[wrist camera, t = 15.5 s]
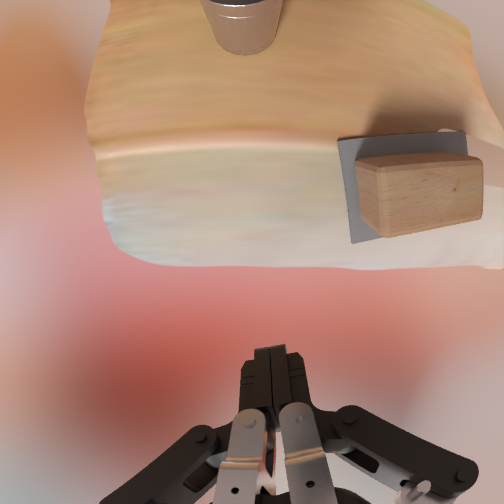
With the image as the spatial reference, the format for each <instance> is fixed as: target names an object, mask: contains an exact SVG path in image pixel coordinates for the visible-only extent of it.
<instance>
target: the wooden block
mask: <svg viewBox="0 0 504 504" xmlns="http://www.w3.org/2000/svg"><path fill="white" fill-rule="evenodd" d="M355 171H356V179H357V188H358V198H359V210H360V217H361V219H362V220H363V221H364V222H366V223H367V224H368V225H369V226H370V227H371V228H373V229H374V230H375V231H376V232H377V233H378V234H379V235H381V236H382V237H385V238H390V237H395V236H400V235H405V234H411V233H416V232H421V231H426V230H431V229H435V228H440V227H445V226H450V225H455V224H460V223H465V222H470V221H474V220H479V219H481V217H482V212H483V163H482V161H481V160H480V159H478V158H476V157H472V156H467V155H463V154H458V153H452V152H431V153H414V154H400V155H388V156H378V157H368V158H360V159H358V160H356V161H355Z"/></svg>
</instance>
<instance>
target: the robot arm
mask: <svg viewBox="0 0 504 504" xmlns="http://www.w3.org/2000/svg"><path fill="white" fill-rule="evenodd" d="M200 2H201V4H202V6H203V9H204V11H205V13H206V16H207V18H208V20H209V23H210V25H211V27H212V30H213V32H214V35H215V37H216V39H217V41H218V43H219V44H220V45H221V46H222V48H224V49H225V50H227V51H229V52H231V53H234V54H239V55H251V54H255V53H259V52H261V51H263V50H265V49H266V48H267V47H269V46H270V44H271V43H272V42H273V40H274V38H275V35H276V30H277V26H278V22H279V17H280V12H281V8H282V3H283V0H200ZM254 352H255V353H254V360H248V361H246V362H245V363H244V365H243V367H242V369H241V380H240V385H241V386H240V398H239V412H238V414H237V415H236V416H235V417H234V419H233V421H232V422H230V423H229V424H227V425H224V426H221V427H218V428H215V429H213V428H211V427H210V426H207V425H198V426H195V427H193V428H191V429H190V430H189V431H188V432H187V433H186V434H184V435H183V436H182V437H181V438H180V439H179V440H178V441H176V442H175V443H174V444H173V445H172V446H171V447H170V448H168V449H167V450H166V451H165V452H164V453H162V454H161V455H160V456H159V457H158V458H157V459H155V460H154V461H153V462H152V463H150V464H149V465H148V466H147V467H145V468H144V469H143V470H142V471H140V472H139V473H138V474H136V475H135V476H134V477H133V478H131V479H130V480H129V481H127V482H126V483H125V484H123V485H122V486H121V487H119V488H118V489H117V490H115V491H114V492H112V493H111V494H110V495H108V496H107V497H105V498H104V499H103V500H101V502H100V503H99V504H194V503H195V502H196V501H197V500H198V499H199V498H201V497H202V496H203V495H204V494H205V493H206V492H207V491H208V490H209V489H210V488H212V487H213V486H214V485H215V484H216V489H215V494H214V499H213V502H211V503H210V504H371V503H369V502H368V501H366V500H365V499H363V498H362V497H360V496H359V495H357V494H356V493H354V492H352V491H349V490H346V489H343V488H337V487H334V486H333V483H332V479H331V475H330V471H329V467H328V463H327V460H326V456H325V453H335V454H336V455H337V456H339V457H340V458H341V459H343V460H345V461H346V462H348V463H349V464H351V465H352V466H354V467H356V468H357V469H359V470H360V471H362V472H364V473H365V474H367V475H369V476H370V477H372V478H374V479H375V480H377V481H379V482H381V483H382V484H385V485H386V486H388V487H390V488H392V489H394V490H395V491H397V492H398V493H397V495H396V497H395V504H453V503H454V501H455V500H456V498H457V497H458V496H459V495H460V494H462V493H463V492H465V491H466V490H468V489H469V488H470V487H472V486H473V485H474V483H475V482H476V480H477V478H478V474H479V470H478V466H477V464H476V463H475V462H474V461H472V460H470V459H467V458H464V457H462V456H460V455H457V454H455V453H453V452H450V451H448V450H445V449H443V448H441V447H439V446H436V445H434V444H432V443H430V442H427V441H425V440H423V439H421V438H419V437H417V436H415V435H413V434H410V433H409V432H406V431H405V430H403V429H401V428H398V427H397V426H395V425H393V424H391V423H389V422H387V421H385V420H383V419H381V418H379V417H377V416H375V415H374V414H372V413H370V412H368V411H366V410H364V409H363V408H361V407H358V406H355V405H349V406H345V407H342V408H340V409H339V410H338V411H336V412H332V411H323V410H320V409H318V408H316V407H315V406H314V405H313V404H312V402H311V399H310V394H309V388H308V382H307V378H306V371H305V366H304V361H303V358H302V357H301V356H300V355H299V353H298V352H295V353H290V354H287V349H286V345H285V344H281V345H276V346H271V347H264V348H259V349H255V351H254ZM280 431H281V434H282V440H283V446H284V453H285V467H286V473H287V480H288V486H289V492H286V493H283V494H280V495H276V485H275V463H276V436H275V432H280Z"/></svg>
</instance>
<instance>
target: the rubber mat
mask: <svg viewBox="0 0 504 504" xmlns="http://www.w3.org/2000/svg"><path fill="white" fill-rule="evenodd" d="M337 143H338V149H339V154H340V160H341V166H342V172H343V178H344V185H345V192H346V199H347V207H348V216H349V224H350V234H351V243H352V244H354V243H359V242H364V241H368V240H373V239H377V238H382V236H381V235H379V234H378V233H377V232H376V231H375V230H374V229H373V228H371V227H370V226H369V225H368V224H367V223H366V222H364V221H363V220H362V219H361V217H360V210H359V198H358V188H357V179H356V171H355V161H356V160H358V159H360V158H368V157H378V156H388V155H400V154H414V153H431V152H452V153H458V154H463V155H467V156H468V151H467V141H466V132H428V133H410V134H396V135H384V136H374V137H365V138H356V139H348V140H341V141H337Z"/></svg>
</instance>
